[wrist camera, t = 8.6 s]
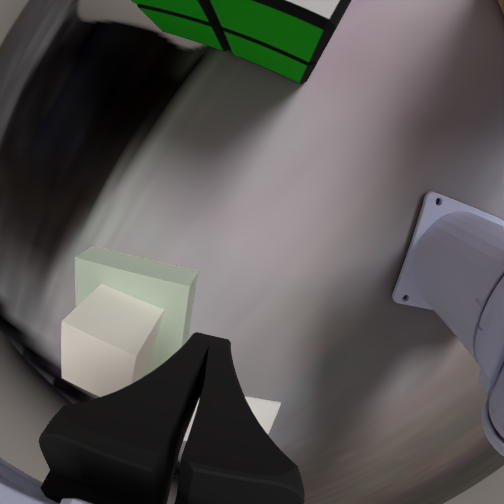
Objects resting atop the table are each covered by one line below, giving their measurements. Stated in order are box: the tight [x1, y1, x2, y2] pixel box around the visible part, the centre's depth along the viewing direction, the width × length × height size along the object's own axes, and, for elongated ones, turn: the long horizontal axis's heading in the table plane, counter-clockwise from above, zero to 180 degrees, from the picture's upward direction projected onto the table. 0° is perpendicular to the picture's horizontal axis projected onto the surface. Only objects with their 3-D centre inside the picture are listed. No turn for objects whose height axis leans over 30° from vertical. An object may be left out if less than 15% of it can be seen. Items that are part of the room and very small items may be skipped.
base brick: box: [75, 246, 198, 375], centre depth 22 cm, size 8×8×3 cm
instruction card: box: [183, 396, 281, 441], centre depth 26 cm, size 10×8×1 cm
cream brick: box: [61, 284, 164, 397], centre depth 18 cm, size 4×4×5 cm
